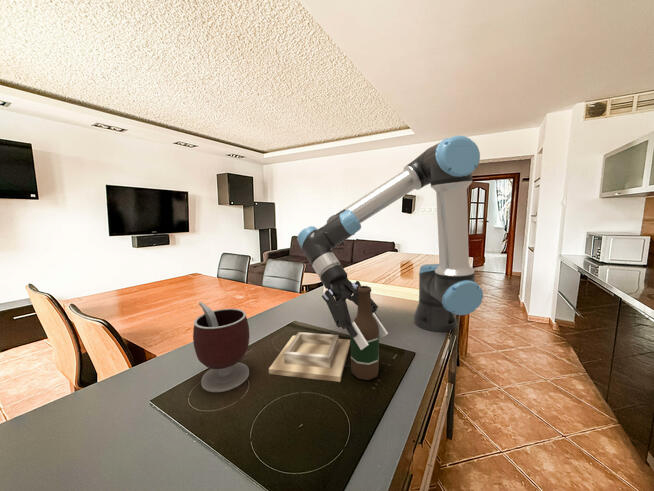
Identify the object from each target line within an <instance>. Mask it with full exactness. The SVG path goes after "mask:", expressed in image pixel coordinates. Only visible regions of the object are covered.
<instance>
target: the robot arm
mask: <svg viewBox="0 0 654 491" xmlns="http://www.w3.org/2000/svg"><path fill="white" fill-rule="evenodd" d="M480 158H481V153H480V149H479V147H478V145H477V143H476V142H475V141H473V139H471V138H469V137H467V136H465V135H454V136H451V137H447V138H445V139H443V140H441V141H440V142H438V143H436V144H434V145H433V146H431V147H428V148H427V149H426V150H424V152H422V153H421V154H420V155H419V156H417V157H416V158H415V159H414V160H411V162H409V163H408V164H407V165H405V166H404V167H403V170H402V171H400V172H399V173H398V174H396V175H394V176H393V177H391V178H390V179H389V180H387V181H386V182H384V183H382V184H380V185H379V186H377V187H376V188H374V189H373V190H372V191H370V192H368V193H367V194H365V195H364V196H362V197H360V198H359V199H357V200H356V201H354V202H352V203H351V204H349V205H348V206H346V207H345V208H344V209H342V210H339V212H337V213H336V214H333V215H331V216H329V217H328V219H327V220H326V224H324V225H323V226H321V227H319V228H317V227H316V226H313V225H310V226H308V227H305V228H303V229H302V230H301V231H300V232H299V233H298V235H297V238H296V239H297V242H298V245H299V246H300V248H301V251H302V252H303V254H304V255H305V257H306V259H307V260H308V262H309V263H310V265H311V266H312V268H313V270H314V272H315V273H316V275H317V276H318V277H319V278H320V282H321V283H322V285H323V286H324V288H325V289H326V290H325V291H324V293H323V294H322V295H321V297H322V299H323V301H324V302H326V305H327V308H328V310H329V311H330V314H331V317H332V319H333V321H334V323H335V325H336V327H337V328H338V329H340V328H341V329H343V330H345V329H346V331H347V332H348V334H349V336H350V338H351V337H352V338H354V340H355V341H356V343H357V345H358V346H359V348H360V349H361V350H362V349H364V348H365V347H366V346H368V345H369V344H368V343H367V341H366V339H365V338H364V336H363V335H362V333H361V331H360V330H359V328H358V327H357V325H356V323H355V322H352V319H351V316H350V311H349V308H348V305H347V300H348V301H349V302H352V303H354V304H355V305H356V306H357V307H358V292H357V290H358V287H360V286H362V284H361V282H360V281H359V280H356V281H355V282H352V281H351V280H349V279H348V273H347V271H346V270H345V268H344V267H343V265H341V262H340V261H339V259H338V258H337V256H336V255H335V253H334V252H333V249H334V248H336V247H338V245H340V244H341V243H343V242H344V241H346V240H348V239H349V238H350V237H352V236H354V235H355V234H357V232H359V231H360V230H361V229H362V225H361V224H362V223H363V222H364V221H367V220H368V219H369V218H371V217H372V216H374V215H375V214H378V213H379V212H380V211H382V210H384V209H386V208H387V207H389V206H390V205H392V204H393V203H395V202H397V201H398V200H399V199H401V198H403V197H404V196H406V195H408V194H409V193H411V192H412V191H414V190H417V191H418V190H421V189H423V188H424V187H426V186H428V185H430V188H431V189H433V190H434V191H435V194H436V196H435V197H436V218H437V236H438V239H437V241H438V242H437V243H438V258H439V259H438V260H439V262H438V263H430V264H429V263H428V264H423V265H421V266H420V267H419V272H418V275H419V278H418V282H419V283H418V291H419V292H418V304H417V307H416V309H415V312H414V315H413V323H414V325H416V326H418V327H419V328H421V329H423V330H428V331H431V332H440V333H441V332H442V333H443V332H451V331H454V330H455V329H456V328H457V318H456V315H457V316H466V315H469V314H472V313H474V312H475V311H476V309H478V308H479V307H480V305H481V304H482V302H483V298H484V292H483V289H482V287H481V285H479V284H478V283H477V282H476V274H475V269H474V268H472V266H470V256H469V222H468V221H469V218H468V188H469V186H470V185H471V184H472V183H473V172H475V171H476V168H478V166H479V164H480V160H481V159H480ZM378 306H379V305H378V304H376V302H375V301H374V300H373V299H372V298H371V310H372V315H373V317H374V319H375V320H376V322H377V324H378V328H379V340H380V339H383V338H384V337H386V336H387V335H389V332H388V331H387V329H386V328H385V326H384V325H383V324H382V320H381V319H380V317H379V316H378V314H377V311H378V308H379V307H378Z"/></svg>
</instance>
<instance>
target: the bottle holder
mask: <svg viewBox="0 0 654 491" xmlns="http://www.w3.org/2000/svg"><path fill="white" fill-rule="evenodd" d="M350 347H351V339H346V338H345V339H344V338H339V334H329V333H328V334H327V333H317V332H316V333H315V332H305V331H304V332H302V331H299V332H297V334H296V335H292V336H291V337H290V339H289V340H288V342H287V343H286V344H285V345H284V347H283V348H282V350H281V351H280V353H279V354H278V355H277V357H276V358H275V359H274V361H273V362H272V364H271V365H270V366H269V367H268V374H269V375H276V376H284V377H293V378H302V379H311V380H319V381H329V382H338V383H341V381H342V378H343V377H342V376H343V373H344V369H345V366H346V362H347V357H348V354H349V350H350Z"/></svg>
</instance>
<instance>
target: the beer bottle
mask: <svg viewBox="0 0 654 491" xmlns="http://www.w3.org/2000/svg"><path fill="white" fill-rule="evenodd" d="M357 292H358V306H357V310H356V311H357V313H356V316H355V318H354V319H353V322H355V323H356V325H357V327H358V328H359V330H360V331H361V333H362V335H363V336H364V338H365V339H366V341H367V343H368V344H369V345H368V346H366V347H365V348H364V349H362V350H361V349H360V348H359V346H358V345H357V343H356V341H355V340H354V338H352V337H351V336H350V368H351V374H353V376H355V377H356V378H357V379H359V380H365V381H369V380H372V379H375V378H378V375H379V369H380V368H379V366H380V337H379V328H378V324H377V322H376V320H375V319H374V317H373V315H372V310H371V299H372V298H371V297H372V296H371V292H372V288H371V287H370V286H368V285H361V286H360V287H358V290H357ZM353 322H352V323H353Z"/></svg>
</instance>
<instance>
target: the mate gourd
mask: <svg viewBox="0 0 654 491" xmlns="http://www.w3.org/2000/svg"><path fill="white" fill-rule="evenodd" d="M198 305H199V306H200V307H201V309H202V311H203V314H202V315H200V316H198V317H196V319H194V321H193V324H194V325H193V331H192V332H193V333H192V339H193V342H192V343H193V348H194V351H195V355H196V357H197V360H198V361H199V362H200V363H201V364H203V365H204V366H205V367H206V368H208V369H209V370H207V371H206V372H205V373H204V374H203V375H202V377H201V380H200V384H201V388H202V389H204V390H205V391H207V392H211V393H221V392H227V391H230V390H232V389H235V388H237V387H239V386H241V385H242V384H243V383H244V382H245V381H246V380H247V379H248V377H249V375H250V368H249V366H248V365H247V364H245V363H244V362H243V363H242V362H240V361H242V359H243V357H244V356H245V354H246V353H247V352H248V349H249V344H250V325H249V321H248V317H247V314H246V311H244V310H243V309H239V308H223V309H222V308H221V309H216V310H212V308H210V307H209V306H208V305H206V304H205V303H204V302H200V301H199V302H198Z"/></svg>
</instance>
